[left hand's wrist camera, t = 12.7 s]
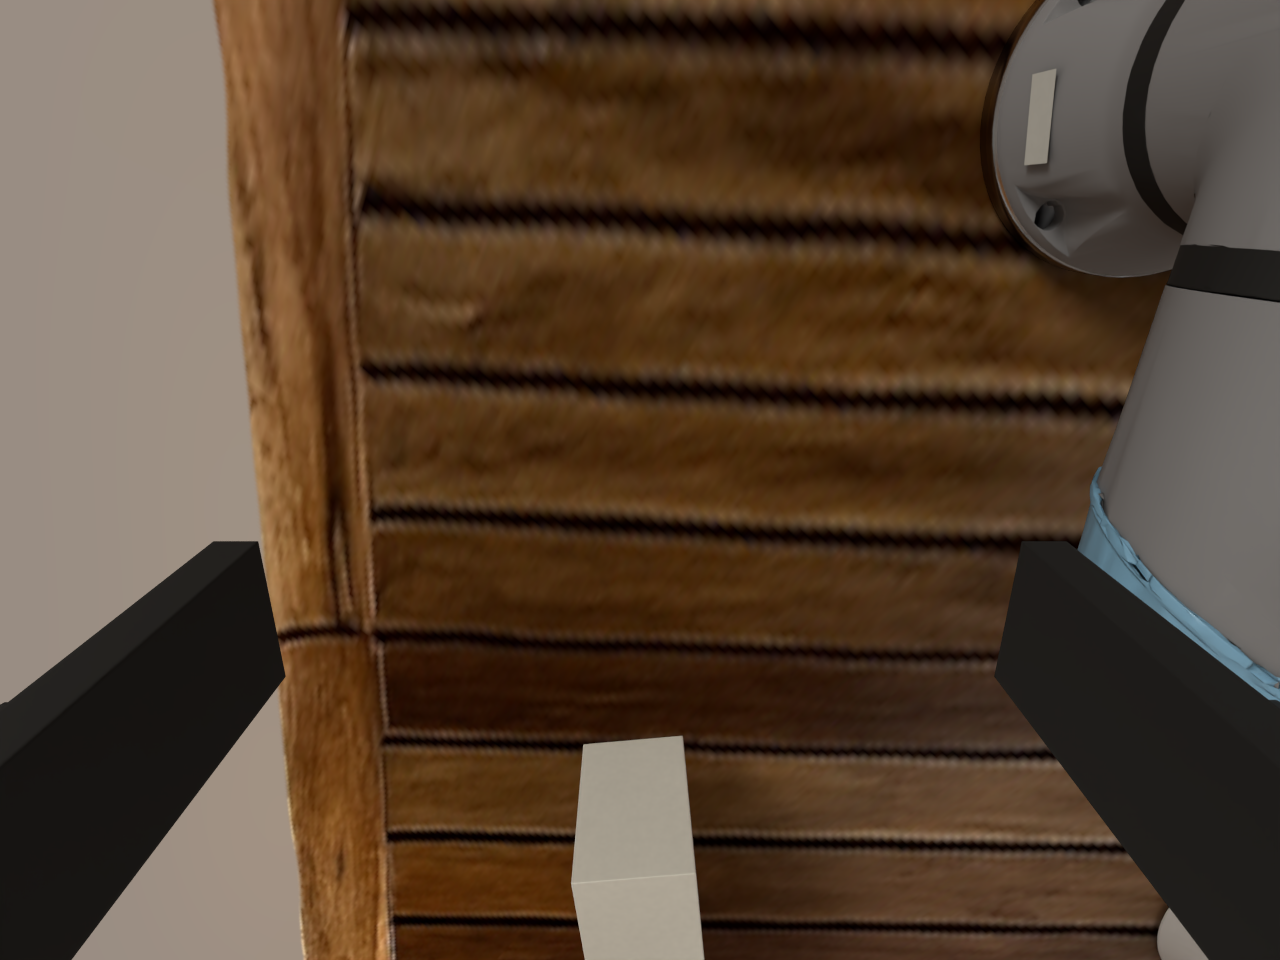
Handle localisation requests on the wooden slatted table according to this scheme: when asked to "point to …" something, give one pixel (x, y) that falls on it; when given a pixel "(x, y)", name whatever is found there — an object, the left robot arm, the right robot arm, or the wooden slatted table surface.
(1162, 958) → the right robot arm
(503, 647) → the wooden slatted table surface
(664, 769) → the bar
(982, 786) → the wooden slatted table surface
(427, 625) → the wooden slatted table surface
